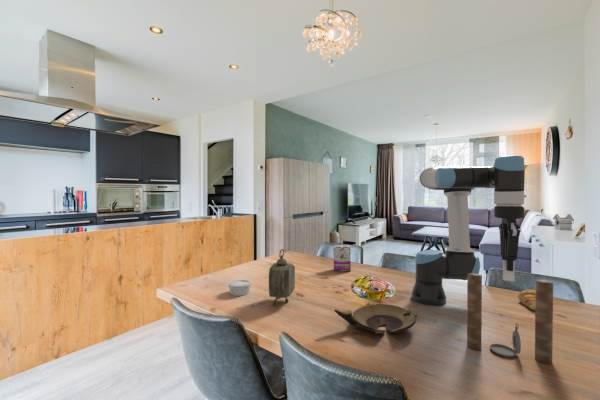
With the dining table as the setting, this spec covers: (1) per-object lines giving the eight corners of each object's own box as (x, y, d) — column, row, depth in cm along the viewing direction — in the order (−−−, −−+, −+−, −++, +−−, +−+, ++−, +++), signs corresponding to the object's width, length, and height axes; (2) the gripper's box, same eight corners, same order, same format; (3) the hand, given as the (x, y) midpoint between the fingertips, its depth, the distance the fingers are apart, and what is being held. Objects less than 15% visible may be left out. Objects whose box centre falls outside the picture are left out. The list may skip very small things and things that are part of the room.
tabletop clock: (277, 295, 138) (277, 246, 138) (295, 297, 136) (295, 246, 136) (268, 307, 124) (268, 252, 124) (288, 309, 122) (288, 252, 122)
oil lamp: (422, 347, 91) (423, 324, 91) (332, 335, 99) (332, 314, 99) (413, 318, 113) (413, 299, 113) (340, 310, 121) (340, 293, 121)
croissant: (543, 322, 117) (555, 307, 114) (516, 306, 122) (527, 292, 119) (537, 304, 134) (547, 291, 132) (514, 291, 139) (523, 278, 137)
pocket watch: (485, 347, 91) (485, 317, 91) (508, 345, 92) (509, 316, 92) (505, 362, 83) (505, 329, 83) (531, 360, 84) (531, 327, 84)
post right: (537, 362, 83) (538, 282, 82) (532, 355, 86) (533, 279, 86) (554, 365, 81) (555, 284, 81) (549, 358, 85) (550, 280, 84)
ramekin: (253, 289, 148) (253, 279, 148) (247, 297, 137) (247, 286, 137) (233, 289, 149) (233, 279, 149) (225, 296, 138) (225, 286, 138)
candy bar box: (350, 269, 187) (350, 245, 186) (350, 271, 182) (350, 246, 182) (333, 268, 189) (333, 245, 188) (333, 270, 184) (333, 246, 183)
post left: (468, 348, 90) (468, 275, 90) (466, 342, 94) (466, 272, 93) (482, 351, 89) (483, 277, 88) (480, 345, 92) (480, 274, 92)
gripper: (531, 206, 79) (530, 288, 79) (517, 205, 91) (516, 276, 91) (499, 205, 82) (499, 284, 82) (490, 204, 94) (489, 273, 94)
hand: (508, 280), depth 87 cm, fingers closed
